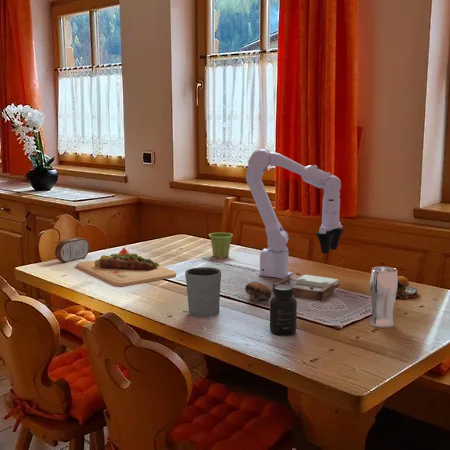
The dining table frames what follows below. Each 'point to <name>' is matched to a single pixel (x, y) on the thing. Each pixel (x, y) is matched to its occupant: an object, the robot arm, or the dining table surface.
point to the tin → (72, 249)
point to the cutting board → (125, 269)
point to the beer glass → (383, 296)
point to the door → (316, 281)
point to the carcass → (307, 290)
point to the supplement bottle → (283, 311)
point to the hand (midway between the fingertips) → (329, 251)
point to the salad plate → (405, 288)
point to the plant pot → (220, 244)
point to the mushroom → (258, 291)
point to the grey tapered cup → (203, 291)
